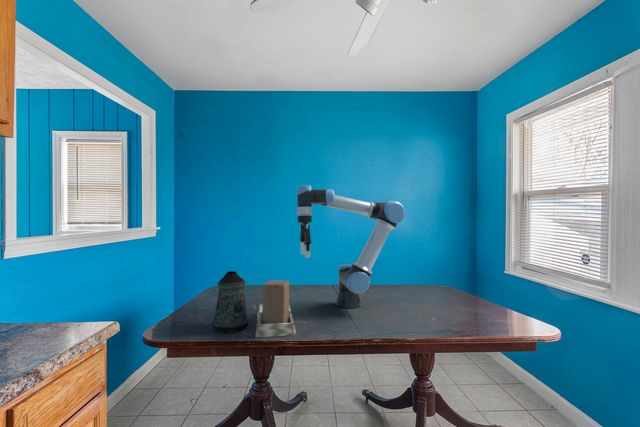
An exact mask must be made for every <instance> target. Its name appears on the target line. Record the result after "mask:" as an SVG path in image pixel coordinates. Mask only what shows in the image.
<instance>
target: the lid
mask: <svg viewBox="0 0 640 427" xmlns="http://www.w3.org/2000/svg"><path fill="white" fill-rule="evenodd" d="M262 303H263V297H261V303H259V307H260V308H259V310H258V312H259V314H262ZM289 313H291V314H292V310H291V306H290V304H289Z"/></svg>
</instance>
